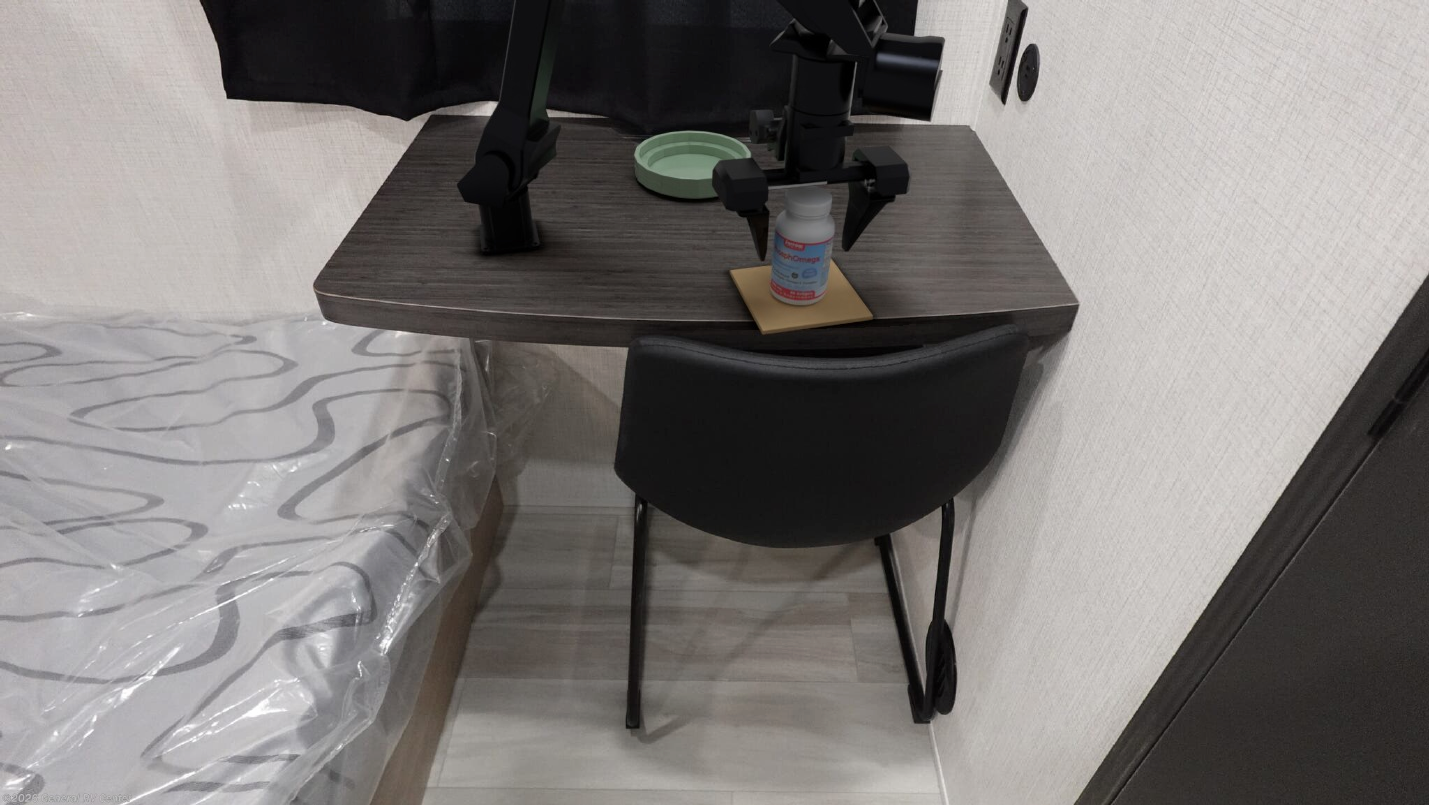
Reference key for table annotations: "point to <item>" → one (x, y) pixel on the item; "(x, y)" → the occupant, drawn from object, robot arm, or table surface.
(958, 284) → the table surface
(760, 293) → the cork mat
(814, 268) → the pill bottle
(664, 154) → the dish
